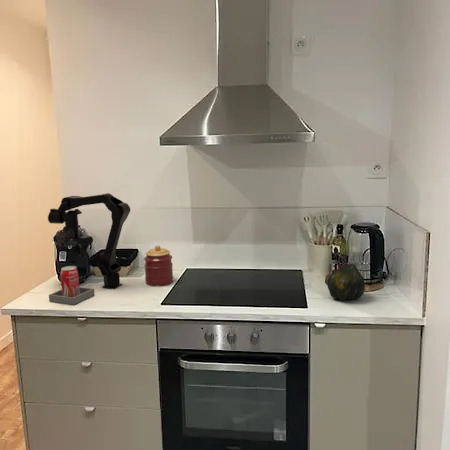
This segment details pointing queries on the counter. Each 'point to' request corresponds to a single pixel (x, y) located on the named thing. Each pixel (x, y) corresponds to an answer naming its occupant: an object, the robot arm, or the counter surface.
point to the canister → (158, 267)
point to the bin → (59, 298)
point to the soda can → (70, 281)
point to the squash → (346, 283)
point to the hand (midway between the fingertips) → (74, 257)
